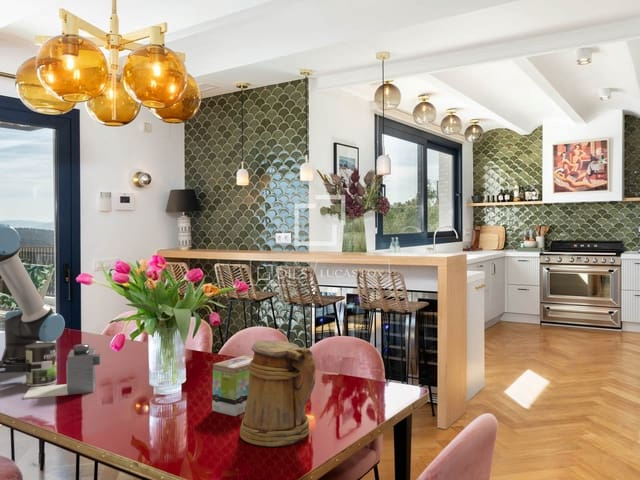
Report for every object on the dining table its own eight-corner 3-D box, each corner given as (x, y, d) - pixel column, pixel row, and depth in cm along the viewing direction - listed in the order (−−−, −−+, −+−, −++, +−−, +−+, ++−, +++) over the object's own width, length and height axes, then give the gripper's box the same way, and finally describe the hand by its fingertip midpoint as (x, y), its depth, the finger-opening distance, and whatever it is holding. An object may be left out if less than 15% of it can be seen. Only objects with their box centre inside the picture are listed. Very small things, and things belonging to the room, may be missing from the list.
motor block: (70, 385, 195) (69, 343, 195) (101, 382, 198) (100, 341, 198) (66, 394, 184) (65, 349, 183) (99, 391, 187) (98, 347, 187)
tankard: (270, 418, 158) (269, 334, 158) (336, 435, 145) (335, 342, 145) (226, 437, 144) (225, 344, 143) (295, 458, 130) (294, 355, 130)
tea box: (236, 417, 160) (236, 367, 160) (211, 411, 165) (211, 363, 165) (267, 403, 173) (267, 357, 172) (243, 398, 178) (242, 354, 178)
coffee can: (63, 379, 203) (62, 342, 203) (44, 387, 193) (43, 348, 193) (39, 378, 205) (38, 341, 205) (19, 385, 195) (18, 347, 195)
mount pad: (30, 389, 191) (30, 387, 191) (71, 385, 195) (71, 383, 195) (23, 399, 179) (23, 397, 179) (67, 394, 184) (67, 392, 184)
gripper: (-7, 369, 204) (58, 364, 211) (-23, 385, 182) (49, 379, 190) (-7, 349, 204) (58, 345, 211) (-24, 363, 182) (49, 358, 190)
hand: (54, 361), depth 200 cm, fingers closed on coffee can, 10 cm apart
